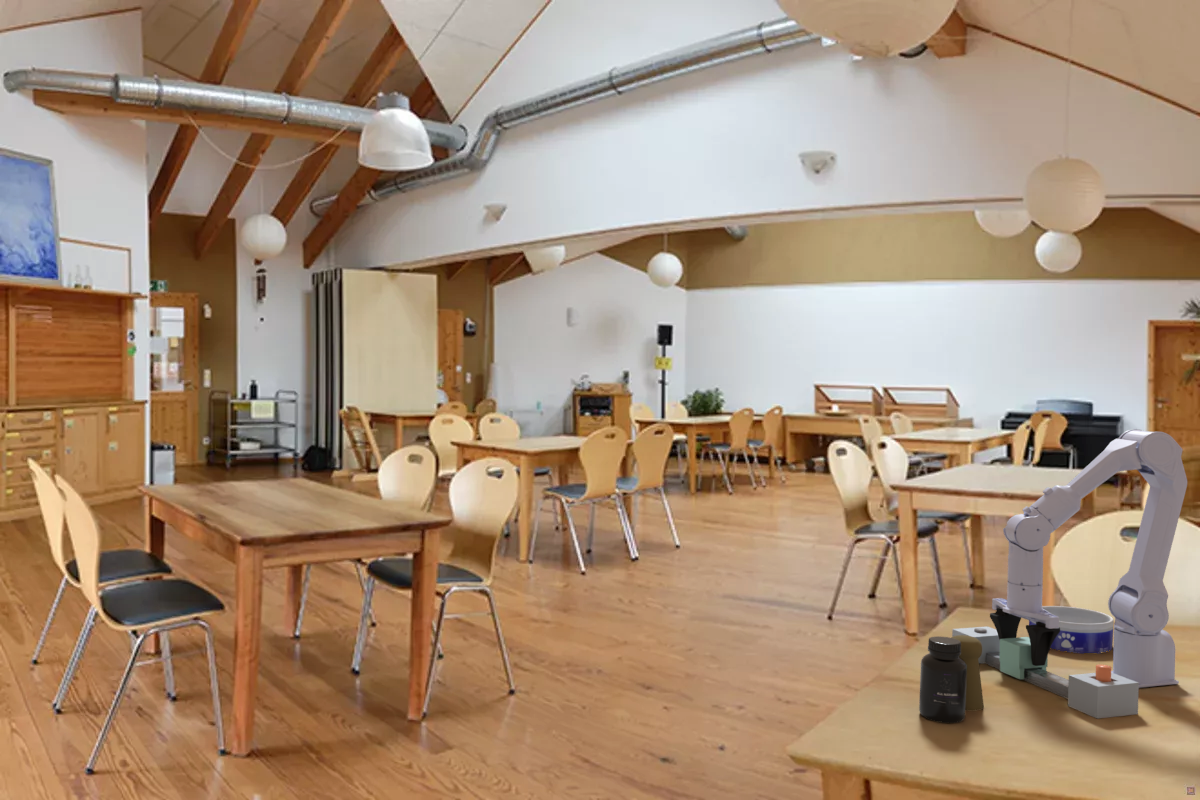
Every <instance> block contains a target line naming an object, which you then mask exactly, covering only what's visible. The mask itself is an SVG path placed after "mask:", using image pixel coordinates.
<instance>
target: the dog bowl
mask: <svg viewBox="0 0 1200 800" xmlns="http://www.w3.org/2000/svg"><path fill="white" fill-rule="evenodd" d="M1042 608H1043V609H1044V610H1046V611H1048V612H1049V613H1051V614H1053V615H1055V616H1058V617H1059V627H1060V632H1059V634H1058V635H1057V636H1056V638H1055V639H1054V641H1053V643H1052V645H1051V647H1050V648H1052V649H1051V650H1053V649H1056V650H1055V651H1058V650H1060V651H1059V652H1064V651H1067V652H1066V653H1071V652H1073V654H1084V653H1097V654H1102V653H1101V652H1105V653H1107V652H1106V651H1108V652H1110V651H1112V650H1113V645H1114V623H1115V619H1114V618H1113V617H1112V616H1111V615H1109V614H1107V613H1104V612H1101V611H1097V610H1093V609H1089V608H1088V609H1087V608H1082V607H1075V606H1074V607H1073V606H1063V605H1042ZM1028 625H1036V623H1035V622H1032V621H1030V620H1028ZM1109 650H1110V651H1109Z"/></svg>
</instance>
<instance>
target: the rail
mask: <svg viewBox="0 0 1200 800" xmlns="http://www.w3.org/2000/svg"><path fill="white" fill-rule="evenodd" d="M999 659H1000V652H994V653H986V663H985V664H986V665H987V664H988V666H989V667H992V668H994V667H995V669H996V670H999V671H1000V661H999ZM1021 680H1023V681H1024V682H1027V683H1029V684H1031V685H1034V686H1036V687H1038V688H1041V689H1044V690H1046V691H1047V692H1048V691H1049V692H1050V693H1053V694H1055V695H1058V696H1060V697H1062V698H1065V699H1066V700H1068V684H1069V678H1068V679H1067V678H1065V677H1063V676H1060V675H1057V674H1055V673H1052V672H1050V671H1047V670H1046V671H1045V670H1043V669H1040V668H1027V669H1024V679H1021Z"/></svg>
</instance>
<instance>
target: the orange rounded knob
mask: <svg viewBox="0 0 1200 800" xmlns="http://www.w3.org/2000/svg"><path fill="white" fill-rule="evenodd" d="M1111 671H1112V666H1111V665H1108V664H1100V663H1099V664H1096V665H1095V673H1096V680H1098V681H1101V682H1111Z"/></svg>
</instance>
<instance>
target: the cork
mask: <svg viewBox="0 0 1200 800" xmlns="http://www.w3.org/2000/svg"><path fill="white" fill-rule="evenodd" d="M950 638H954V639H957V640H959V641H960V642H961V655H959V657H960V658H962V659H963V660H964V661H965V663H966V665H967V685H966V710H965V711H968V712H969V711H970V712H972V711H981V710H983V709H984V708H985V707H984V698H983V689H982V688H983V687H982V681H981V680H982V679H981V672H980V671H981V670H980V663H979V661H978V659H979V657H980V656H981V654H982V644H981V642H980V640H978V639H977V638H975V637H971V636H966V635H957V636H953V637H952V636H951V637H950Z"/></svg>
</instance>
